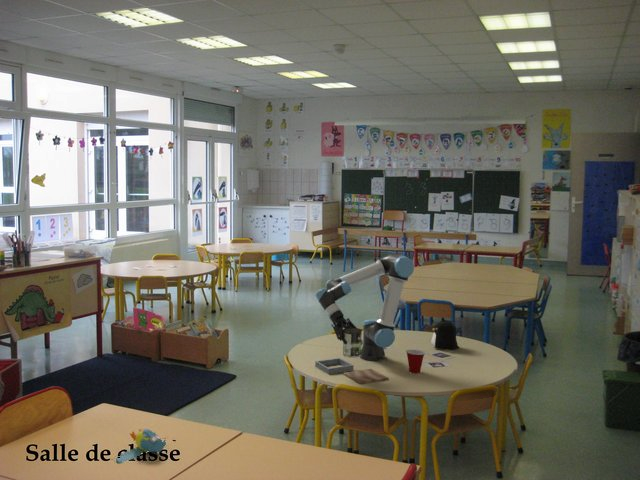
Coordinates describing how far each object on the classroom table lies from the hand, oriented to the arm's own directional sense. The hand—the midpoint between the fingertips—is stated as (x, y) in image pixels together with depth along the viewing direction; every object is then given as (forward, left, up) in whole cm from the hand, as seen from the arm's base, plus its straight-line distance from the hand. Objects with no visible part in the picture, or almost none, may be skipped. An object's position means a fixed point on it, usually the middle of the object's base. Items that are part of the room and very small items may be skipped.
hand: (356, 346), depth 340 cm
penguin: (-82, -25, -17) cm, 87 cm away
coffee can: (+1, -3, -6) cm, 6 cm away
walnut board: (-4, +4, -16) cm, 17 cm away
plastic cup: (-34, +8, -17) cm, 38 cm away
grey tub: (+4, -17, -16) cm, 24 cm away
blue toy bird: (+122, +45, -17) cm, 131 cm away
